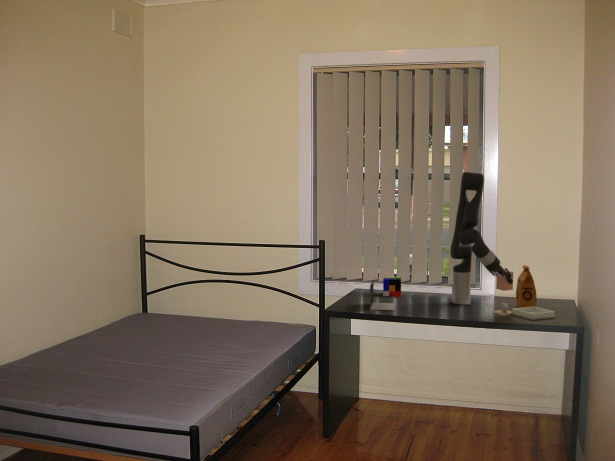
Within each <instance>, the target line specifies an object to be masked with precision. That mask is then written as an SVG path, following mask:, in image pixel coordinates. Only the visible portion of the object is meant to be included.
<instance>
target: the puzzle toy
mask: <svg viewBox="0 0 615 461" xmlns="http://www.w3.org/2000/svg"><path fill="white" fill-rule="evenodd" d="M382 282H383V283H382V284H383V285H382V288H383V290H382V296H394V297H393V298H401V297H402V277H401V276H384V277H383V281H382Z"/></svg>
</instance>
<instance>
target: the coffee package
mask: <svg viewBox="0 0 615 461" xmlns="http://www.w3.org/2000/svg"><path fill="white" fill-rule="evenodd" d="M522 269H523V270H522V271H521V273H520V274H519V276H518V277H517V282H516V288H515V289H516V290H515V298H516V299H515V300H516V306H517V308H522V307H532V306H535V307H537V289H536V286H535V280H534V277H533V276H532V273H531V271H530V266H528V265H526V264H524V265H522Z"/></svg>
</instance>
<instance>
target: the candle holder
mask: <svg viewBox="0 0 615 461" xmlns="http://www.w3.org/2000/svg"><path fill="white" fill-rule="evenodd" d="M500 306H501V307H500V309H498V310H492V314H495V315H498V316H502V317H507V316H514V315H513V313H512V310H508V309H509V304H508V303H505V302H503V303H501V304H500Z"/></svg>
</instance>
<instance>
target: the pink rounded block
mask: <svg viewBox="0 0 615 461" xmlns="http://www.w3.org/2000/svg"><path fill="white" fill-rule="evenodd" d="M508 271H509V272H510V274H511V275H512V276H511V277H510V278H511V279H512V280H513V281H514V271H510V270H508ZM502 275H503V273H502ZM504 276H505V275H504ZM505 277H506V276H505ZM495 288H496V289H497V290H500V291H507V292H508V291H513V290H514V282H513V283H512V284H509V282H508V281H507V280H506V279H505V278H504V277H501V276H500V275H499V274H497V277H496V284H495Z"/></svg>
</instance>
